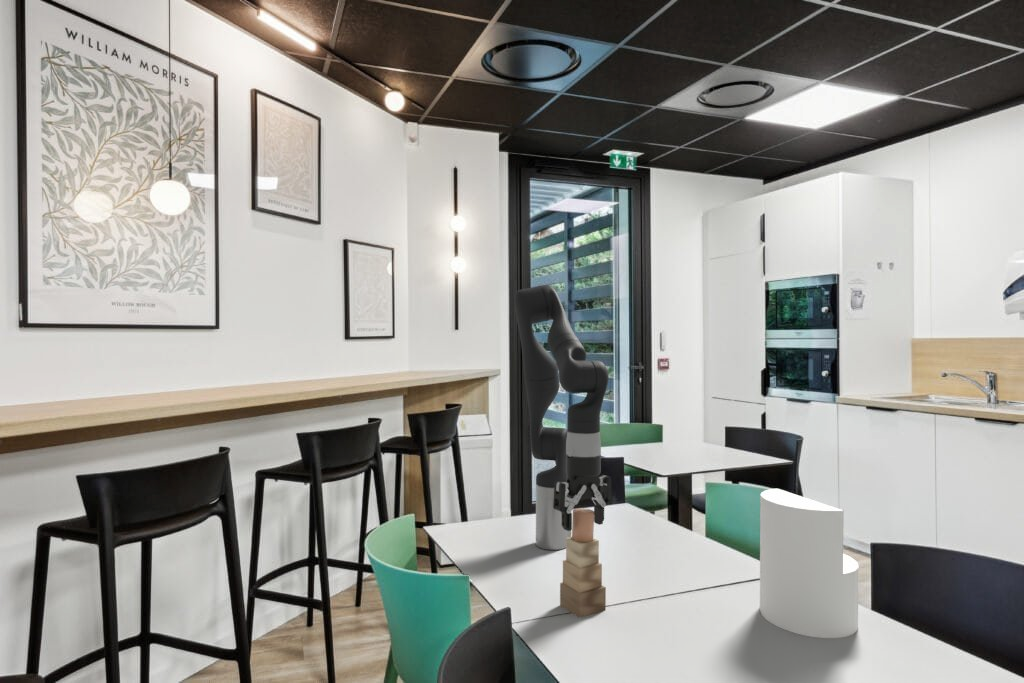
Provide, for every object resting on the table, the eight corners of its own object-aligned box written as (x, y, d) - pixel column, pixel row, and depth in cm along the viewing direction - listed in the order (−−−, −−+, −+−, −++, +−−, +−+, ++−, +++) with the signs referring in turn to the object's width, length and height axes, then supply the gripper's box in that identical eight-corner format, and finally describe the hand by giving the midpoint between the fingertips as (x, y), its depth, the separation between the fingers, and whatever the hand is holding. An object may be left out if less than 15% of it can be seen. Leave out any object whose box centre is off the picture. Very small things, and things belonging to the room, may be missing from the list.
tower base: (585, 598, 140) (585, 576, 140) (605, 610, 134) (605, 587, 134) (560, 605, 136) (560, 582, 136) (579, 617, 130) (579, 594, 130)
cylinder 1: (584, 534, 138) (585, 507, 138) (597, 540, 134) (598, 512, 134) (567, 537, 136) (568, 510, 136) (580, 543, 132) (581, 515, 132)
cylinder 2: (796, 642, 120) (797, 513, 120) (742, 601, 138) (743, 489, 138) (880, 633, 124) (881, 508, 124) (816, 595, 142) (817, 486, 142)
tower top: (584, 556, 139) (584, 534, 138) (598, 563, 134) (598, 540, 134) (566, 560, 136) (566, 537, 136) (580, 567, 132) (580, 544, 132)
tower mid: (584, 577, 139) (584, 555, 139) (601, 587, 134) (601, 563, 134) (562, 583, 136) (562, 560, 136) (579, 592, 131) (579, 569, 131)
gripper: (597, 446, 142) (597, 517, 142) (546, 452, 134) (546, 527, 134) (619, 452, 135) (619, 526, 136) (567, 458, 128) (567, 536, 128)
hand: (583, 526), depth 135 cm, fingers open, 8 cm apart
